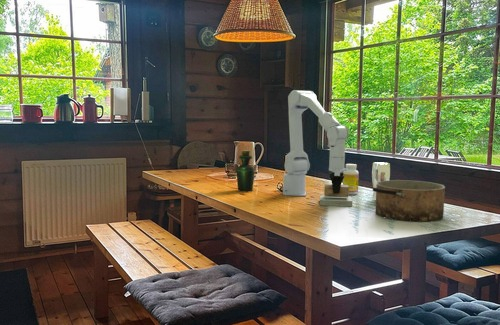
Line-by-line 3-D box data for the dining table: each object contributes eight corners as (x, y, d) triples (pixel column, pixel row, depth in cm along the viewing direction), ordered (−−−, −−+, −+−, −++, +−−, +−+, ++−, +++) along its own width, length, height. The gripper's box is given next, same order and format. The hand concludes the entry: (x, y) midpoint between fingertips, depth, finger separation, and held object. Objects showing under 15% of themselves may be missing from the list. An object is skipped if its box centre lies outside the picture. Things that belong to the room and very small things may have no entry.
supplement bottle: (358, 195, 203) (359, 165, 202) (342, 194, 204) (343, 164, 203) (357, 192, 210) (358, 163, 208) (342, 192, 211) (343, 163, 210)
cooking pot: (403, 227, 148) (405, 192, 146) (353, 213, 167) (354, 183, 166) (464, 217, 163) (466, 186, 162) (412, 205, 182) (413, 178, 181)
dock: (320, 205, 180) (320, 199, 180) (320, 200, 190) (320, 195, 190) (352, 206, 179) (352, 201, 178) (350, 201, 188) (350, 196, 188)
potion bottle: (244, 192, 206) (244, 151, 204) (232, 190, 212) (232, 150, 210) (258, 191, 211) (258, 150, 209) (246, 188, 217) (246, 149, 215)
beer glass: (379, 202, 188) (380, 164, 186) (367, 199, 194) (368, 162, 192) (392, 200, 191) (394, 163, 190) (380, 197, 197) (381, 162, 196)
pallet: (324, 196, 182) (324, 186, 182) (324, 194, 187) (324, 184, 187) (348, 197, 181) (348, 187, 181) (347, 195, 186) (347, 185, 185)
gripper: (348, 159, 175) (347, 195, 176) (346, 155, 189) (345, 189, 190) (329, 158, 176) (328, 194, 177) (328, 155, 190) (327, 188, 191)
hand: (336, 192), depth 184 cm, fingers closed on pallet, 5 cm apart
